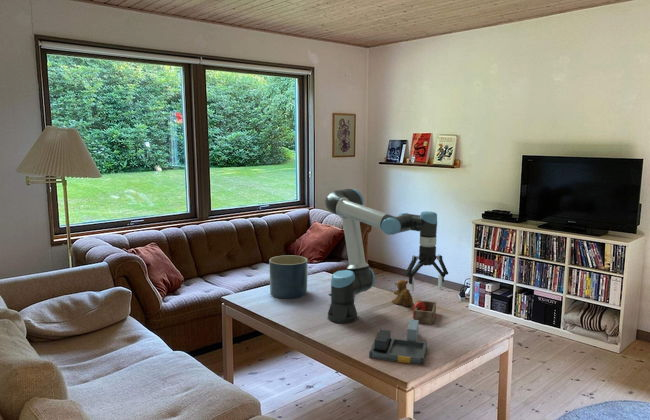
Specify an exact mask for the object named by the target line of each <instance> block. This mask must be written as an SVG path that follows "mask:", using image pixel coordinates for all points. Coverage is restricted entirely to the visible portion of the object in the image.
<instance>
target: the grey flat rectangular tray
mask: <svg viewBox="0 0 650 420" xmlns="http://www.w3.org/2000/svg"><path fill="white" fill-rule="evenodd" d="M391 333H392V331H391V330H389V329H381V328H380V329H379V330H378V332H377V335H375V338H374V342H373V344H372V345H371V348H370V350H369V353H368V355H369V356H368V357H369V359H373V360H375V359H376V360H383V361H389V362H397V363H403V364H404V363H405V364H413V365H421V366H423V365H424V361H425V357H426V353H427V347H428V342H427V341H420V340H417V341H412V340H407V339H402V338H394V337H392V334H391Z"/></svg>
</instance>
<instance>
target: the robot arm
mask: <svg viewBox="0 0 650 420" xmlns="http://www.w3.org/2000/svg"><path fill="white" fill-rule="evenodd" d="M324 205H325V208H326V210H327V211H328V212H329V213H331V214H333V215H336V216H338V217H339V219H340V218H341V220H342V227H343V232H344V240H345V245H346V251H347V258H348V259H347V260H348V266H347V267H346V269H343V270H337V271H335V272H334V273H333V274H332V275H331V281H330V286H331V288H330V293H331V296H330V299H331V301H330V305H329V308H328V311H327V320H329V321H330V322H333V323H337V324H349V323H354V322H356V321H357V320H358V310H357V308H356V304H355V295H357V294H361V293H364V292H367V291H369V290H370V289H372V288H373V286H374V285H375V282H376V275H375V274H376V273H375V271H373V269H372V268H370V265H369V264H368V263H367V261H366V258H365V257H366V256H365V252H364V251H365V250H364V243H363V238H362V237H363V236H362V229H361V225H360V222H361V223H364V224H366V225H370V226H372V227H375V228H377V229H380V230H381V231H382V232H383V233H384V234H385V235H388V236H391V235H397V234H399V233H403V232H408V231H415V232H419V251H418V252H419V254H418V255H417V256H416V255H412V258H411V261H410V263H409V264H408V267H407V269H406V271H405V273H404V274H405V276H406V277H408V284H409V285H410V289H409V291H412V292H415V277H414V276H415V275H416V274H417V273H418V271H419V270H420V269H421V268H422V267H423V266H425V267H426V266H433V267H434V269H436V271H437V272H438V278H437V279H438V280H437V289H438V290H439V291H443V283H444V282H445V277H446V275H449V272H448V269H447V267H446V265H445V263H444V260H443V255H442V254H438V255H437V246H436V245H437V231H438V214H437V212H435V211H421V213H420V215H419V214H413V213H408V212H406V213H399V214H398V215H397V216H395V215H391V214H389V213H385V212H383V211H379V210H377V209H374V208H371V207H368V206H366V205H364V196H363V194H362V193H361V192H360V191H359V190H358V189H355V188H346V189H338V190H332V191H330V192H329V193H328V194H327V195H326V196H325V201H324ZM418 260H419V261H418ZM436 260H438V262H439V265H440V267H441V268H440V267H439V266H438V264H437V263H436V262H435V261H436ZM417 261H418V262H417ZM416 263H417V264H416Z"/></svg>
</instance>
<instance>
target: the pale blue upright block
mask: <svg viewBox="0 0 650 420" xmlns="http://www.w3.org/2000/svg"><path fill="white" fill-rule="evenodd" d="M408 321H409V322H408V325H407V328H406V332H407V333H406V340H412V341H418V336H419V323H418V322H419V320H414V319H409V320H408Z"/></svg>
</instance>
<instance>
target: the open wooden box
mask: <svg viewBox="0 0 650 420" xmlns="http://www.w3.org/2000/svg"><path fill="white" fill-rule="evenodd" d="M417 302H422V303H424V305H425V311H420V309H421V307H420V306H419V307H415V310H414V318H413V320H419V322H418V324H427V325H434V323H435V318H436V317H435V314H436V312H437V311H436V310H437V302H436V301H428V300H420V299H418V300H417ZM417 302H416V303H417ZM436 315H437V314H436Z"/></svg>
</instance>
